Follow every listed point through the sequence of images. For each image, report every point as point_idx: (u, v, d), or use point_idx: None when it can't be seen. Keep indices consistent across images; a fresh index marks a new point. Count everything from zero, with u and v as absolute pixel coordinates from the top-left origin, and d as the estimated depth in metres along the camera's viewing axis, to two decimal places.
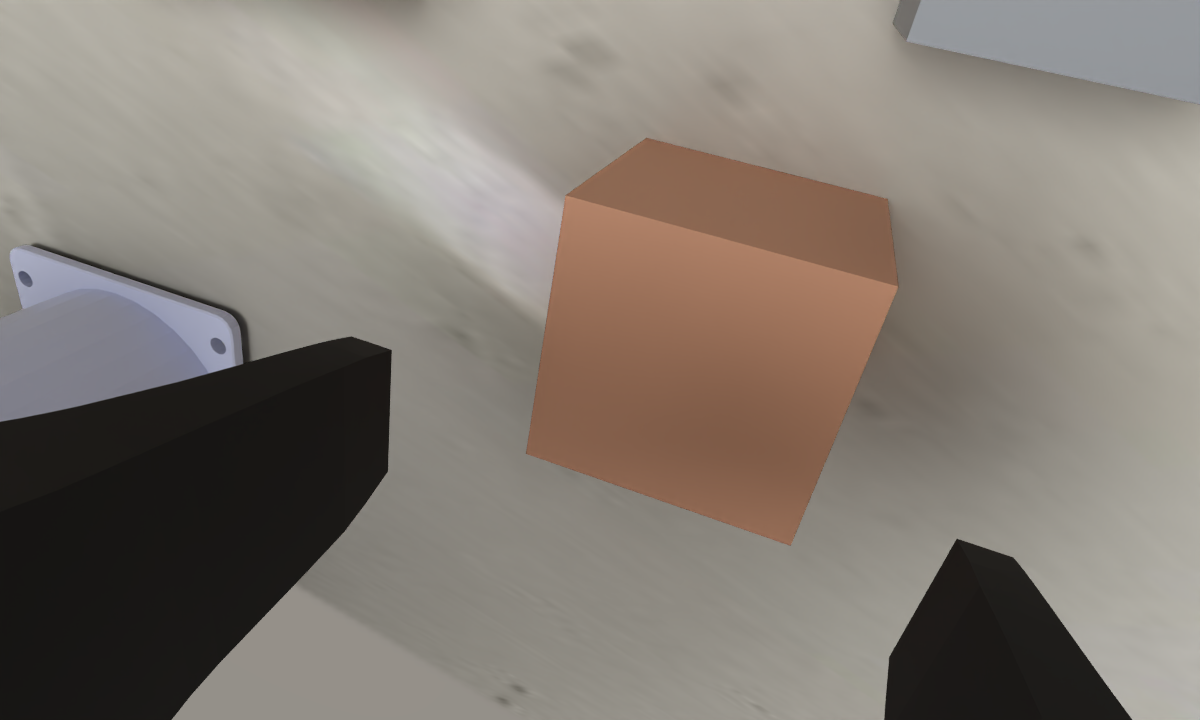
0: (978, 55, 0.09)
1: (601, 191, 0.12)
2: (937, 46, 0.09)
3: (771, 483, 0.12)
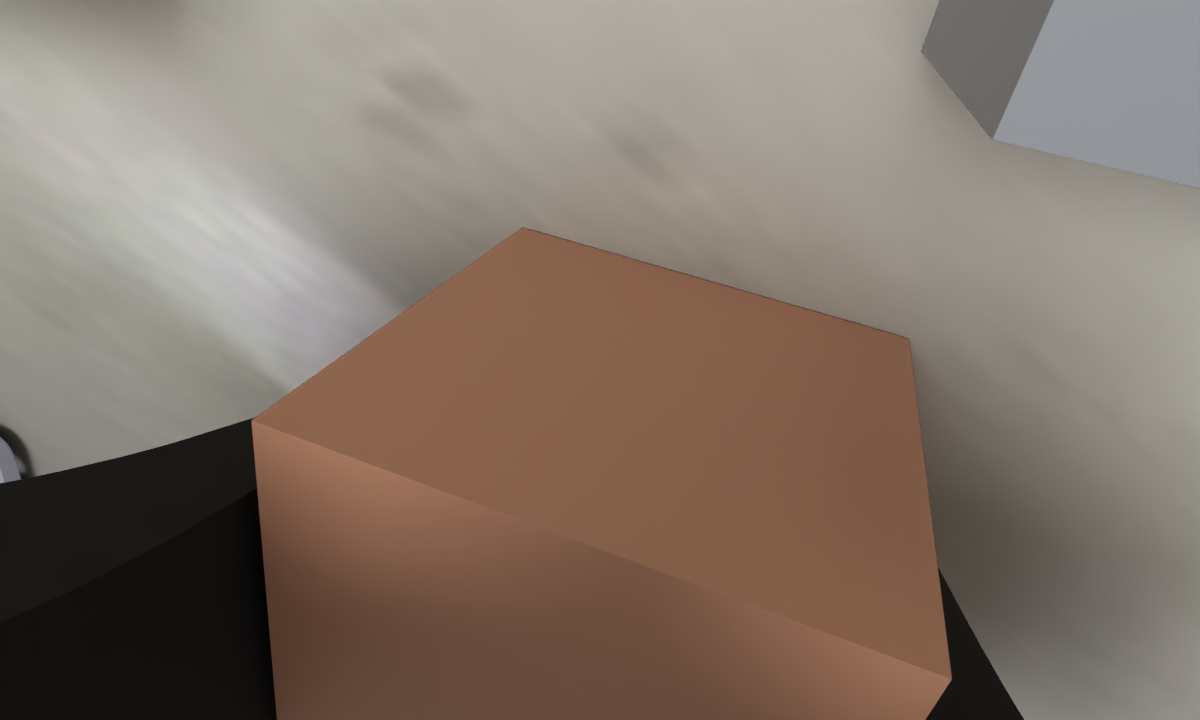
0: None
1: (348, 393, 0.06)
2: (1082, 155, 0.03)
3: None
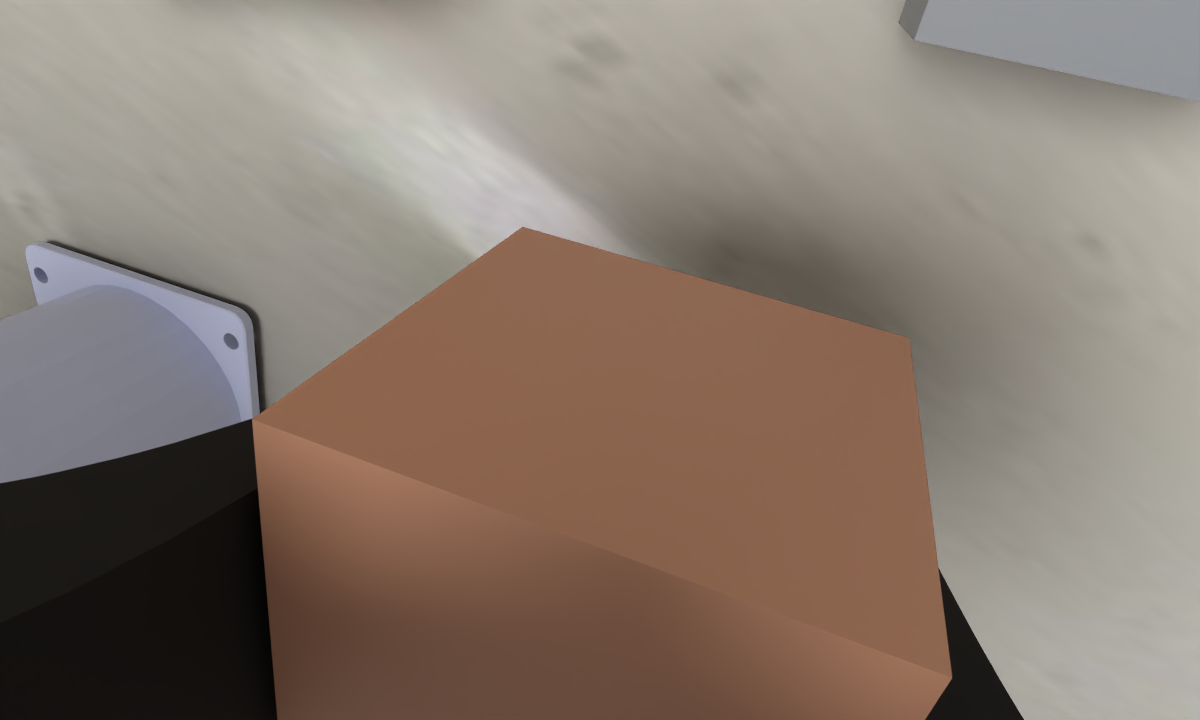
0: (984, 54, 0.09)
1: (348, 392, 0.06)
2: (944, 45, 0.09)
3: None
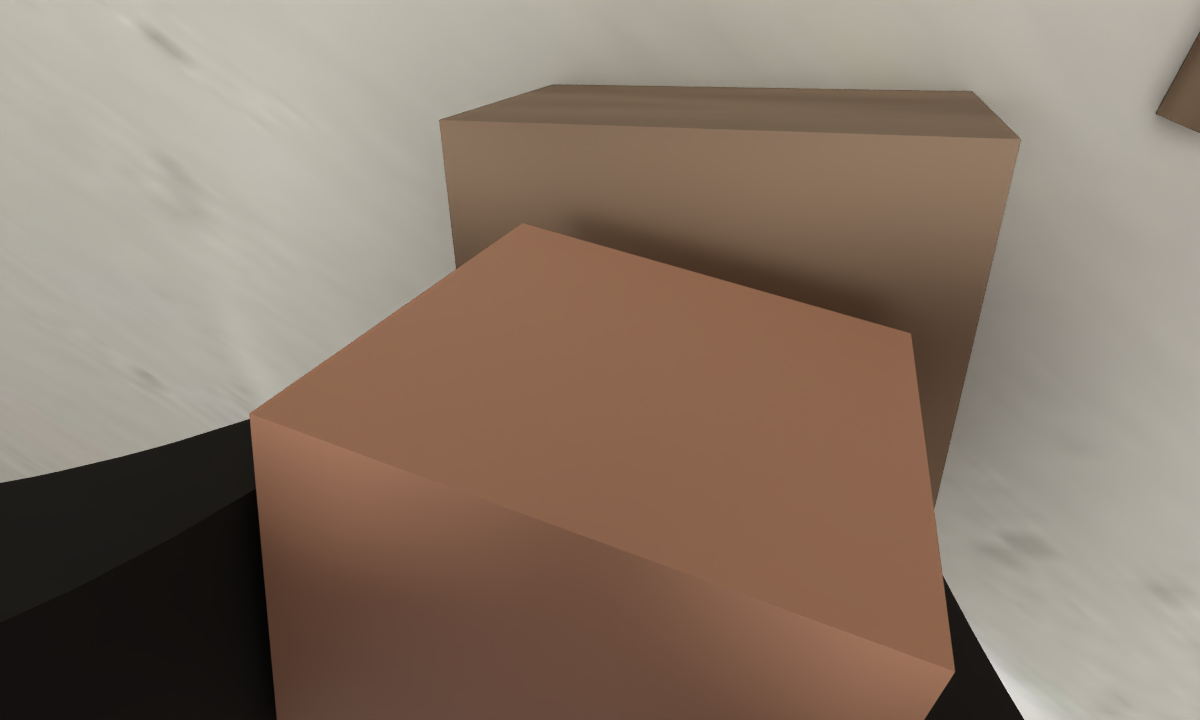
0: None
1: (347, 386, 0.06)
2: None
3: None
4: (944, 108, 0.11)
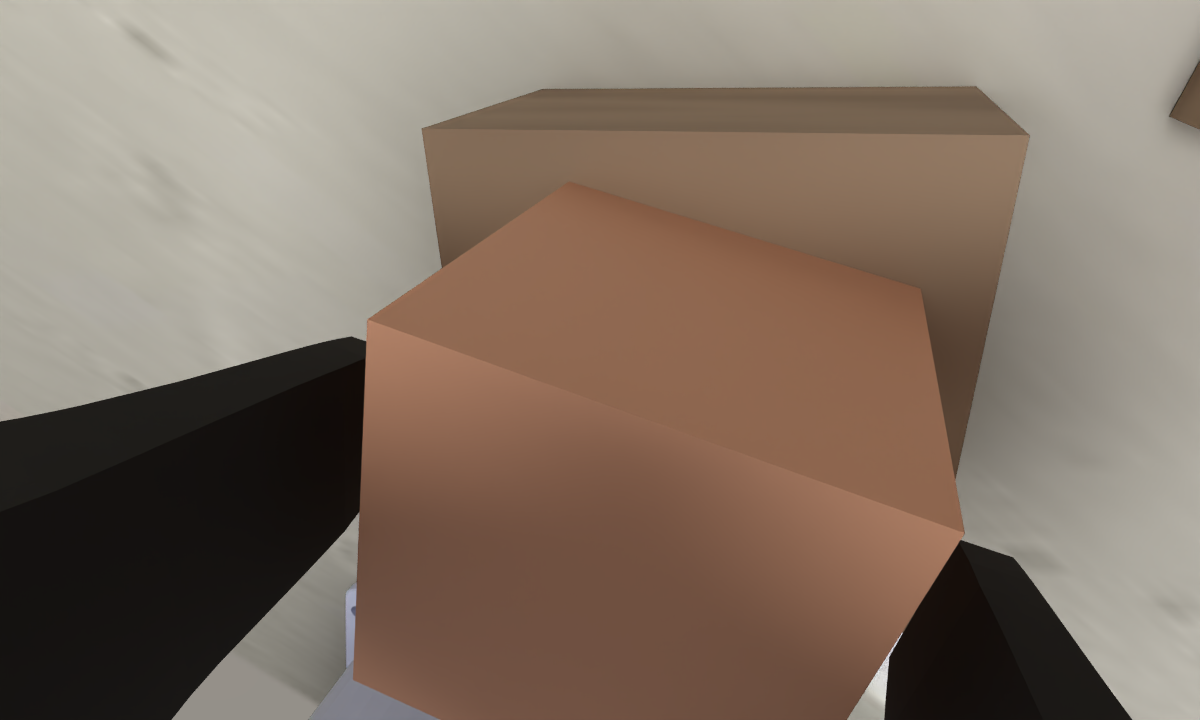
0: None
1: (443, 303, 0.07)
2: None
3: None
4: (947, 104, 0.11)
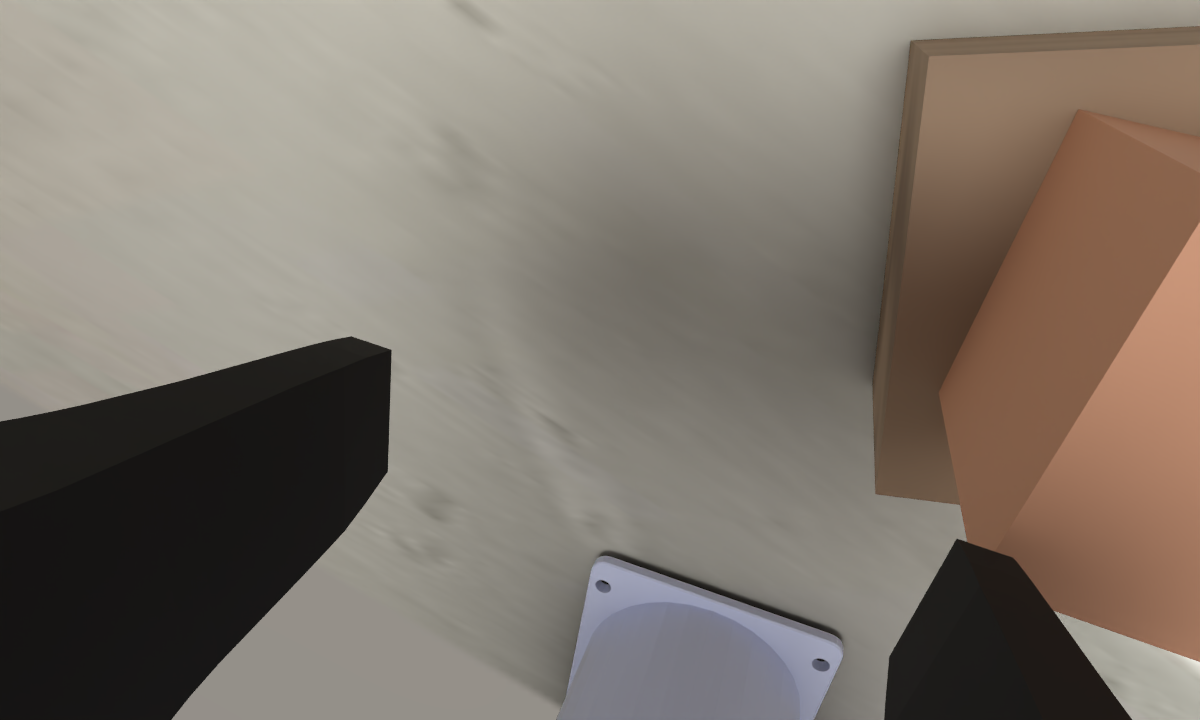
0: None
1: None
2: None
3: None
4: None
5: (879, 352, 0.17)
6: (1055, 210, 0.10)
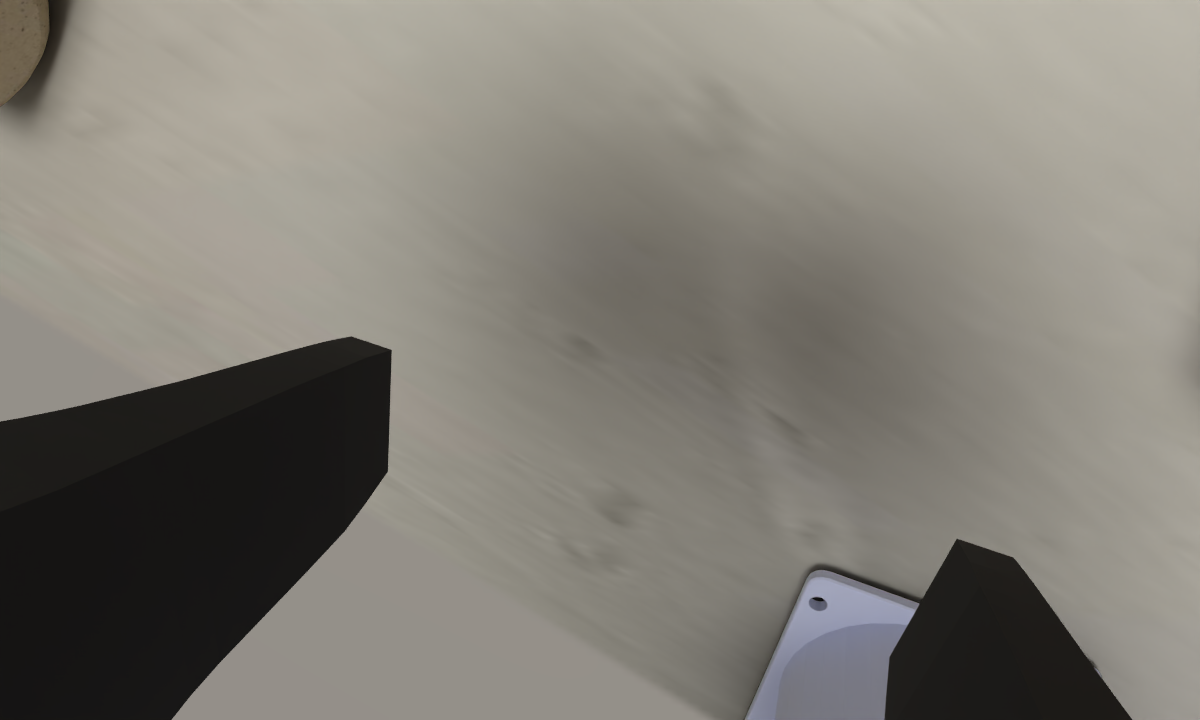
0: None
1: None
2: None
3: None
4: None
5: None
6: None
